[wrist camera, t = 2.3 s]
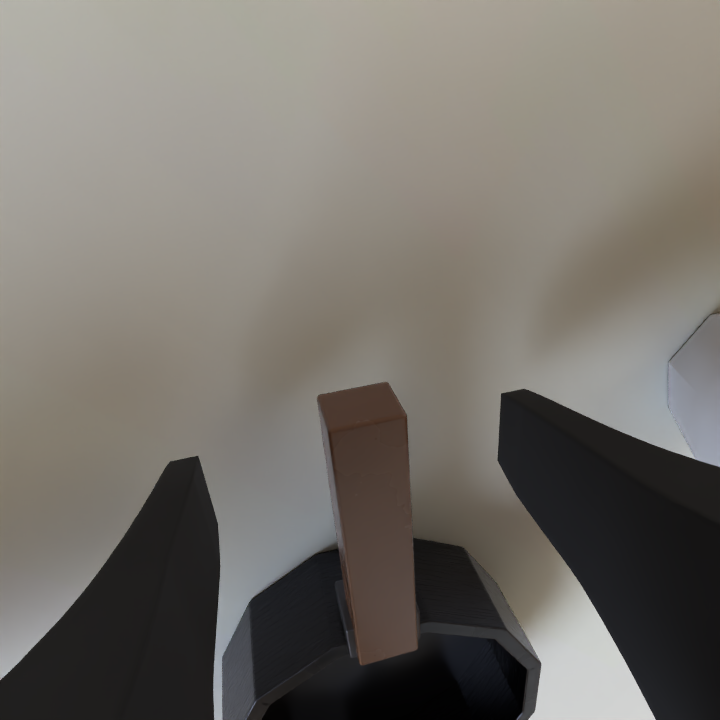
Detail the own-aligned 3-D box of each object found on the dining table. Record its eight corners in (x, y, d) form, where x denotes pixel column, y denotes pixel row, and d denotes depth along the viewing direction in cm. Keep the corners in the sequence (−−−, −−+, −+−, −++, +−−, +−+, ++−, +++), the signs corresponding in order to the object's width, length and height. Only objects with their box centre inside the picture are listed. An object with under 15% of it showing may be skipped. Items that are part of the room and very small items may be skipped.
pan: (490, 682, 22) (536, 784, 19) (255, 753, 21) (261, 878, 17) (512, 308, 14) (600, 374, 11) (126, 377, 13) (93, 479, 9)
